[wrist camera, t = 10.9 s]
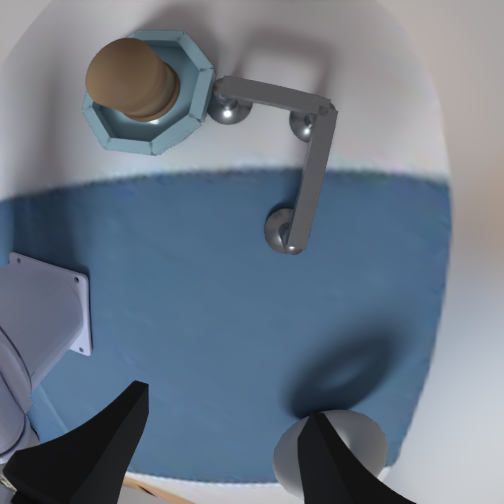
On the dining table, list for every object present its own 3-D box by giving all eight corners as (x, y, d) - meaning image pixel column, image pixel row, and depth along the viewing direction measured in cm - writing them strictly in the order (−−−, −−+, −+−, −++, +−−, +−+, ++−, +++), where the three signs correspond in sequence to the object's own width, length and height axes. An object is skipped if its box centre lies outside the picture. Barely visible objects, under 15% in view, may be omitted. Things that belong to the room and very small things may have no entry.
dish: (87, 147, 18) (74, 146, 16) (115, 40, 16) (105, 32, 14) (197, 162, 18) (191, 161, 17) (226, 45, 16) (223, 34, 14)
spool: (112, 118, 17) (73, 107, 12) (129, 60, 16) (97, 35, 11) (170, 126, 17) (143, 113, 12) (188, 65, 16) (168, 35, 11)
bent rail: (180, 230, 20) (160, 247, 15) (212, 79, 17) (200, 55, 12) (302, 255, 20) (315, 279, 16) (337, 107, 17) (360, 92, 13)
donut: (369, 389, 24) (405, 470, 14) (369, 411, 25) (400, 487, 15) (266, 415, 24) (270, 505, 15) (274, 435, 25) (279, 517, 16)
